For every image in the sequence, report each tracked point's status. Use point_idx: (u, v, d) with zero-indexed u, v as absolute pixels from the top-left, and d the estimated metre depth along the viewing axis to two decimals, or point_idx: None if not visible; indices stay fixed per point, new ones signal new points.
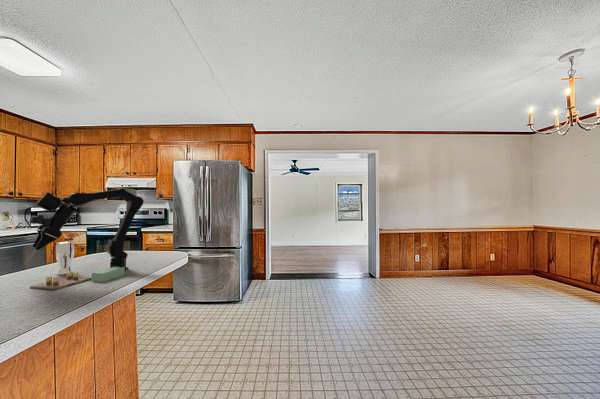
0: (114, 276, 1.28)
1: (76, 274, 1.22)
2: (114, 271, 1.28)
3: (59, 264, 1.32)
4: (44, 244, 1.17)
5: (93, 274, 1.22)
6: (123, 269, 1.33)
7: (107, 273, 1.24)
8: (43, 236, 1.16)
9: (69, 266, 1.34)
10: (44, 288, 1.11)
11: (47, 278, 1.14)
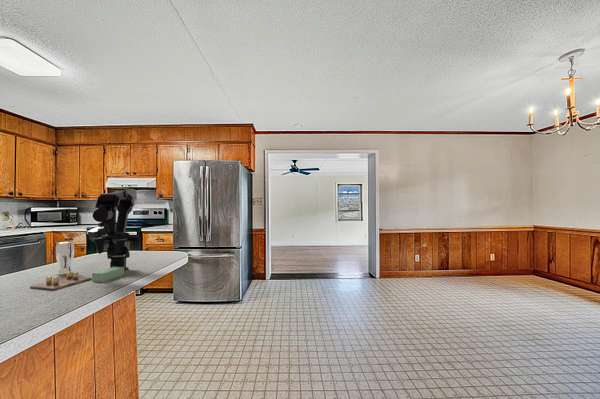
0: (114, 276, 1.28)
1: (76, 274, 1.22)
2: (114, 271, 1.28)
3: (59, 264, 1.32)
4: (120, 247, 1.27)
5: (94, 274, 1.22)
6: (123, 269, 1.33)
7: (108, 273, 1.24)
8: (117, 242, 1.25)
9: (69, 266, 1.34)
10: (44, 288, 1.11)
11: (47, 278, 1.14)
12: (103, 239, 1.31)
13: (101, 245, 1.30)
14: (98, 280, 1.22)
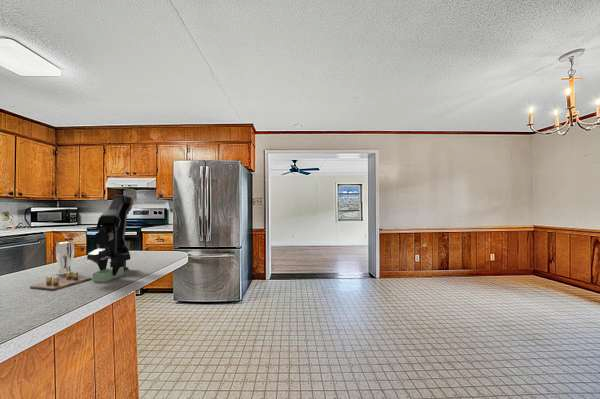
0: (115, 276, 1.28)
1: (76, 274, 1.22)
2: None
3: (59, 264, 1.32)
4: (118, 268, 1.28)
5: (95, 274, 1.22)
6: (122, 269, 1.33)
7: (109, 273, 1.25)
8: (115, 264, 1.26)
9: (69, 266, 1.34)
10: (44, 288, 1.11)
11: (47, 278, 1.14)
12: (106, 260, 1.31)
13: (104, 266, 1.29)
14: (99, 280, 1.22)
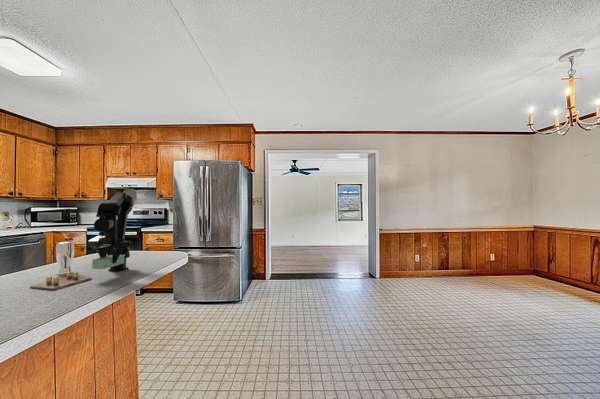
0: (114, 263, 1.28)
1: (76, 274, 1.22)
2: None
3: (59, 264, 1.32)
4: (117, 256, 1.28)
5: (94, 261, 1.22)
6: (123, 257, 1.33)
7: (108, 260, 1.24)
8: (115, 251, 1.25)
9: (69, 266, 1.34)
10: (44, 288, 1.11)
11: (47, 278, 1.14)
12: (106, 248, 1.31)
13: (104, 254, 1.29)
14: (98, 267, 1.22)
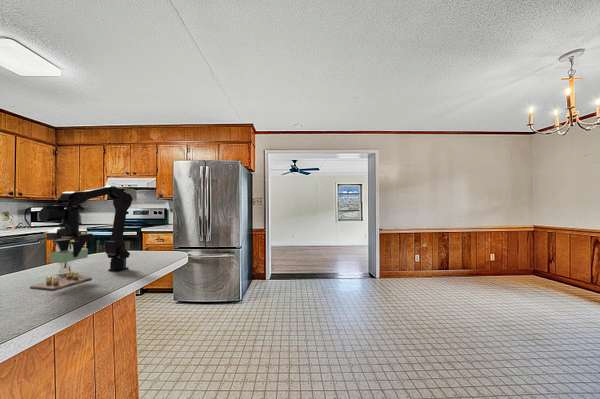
0: (76, 257, 1.20)
1: (76, 274, 1.22)
2: None
3: (59, 264, 1.32)
4: (79, 249, 1.20)
5: (52, 254, 1.14)
6: (86, 250, 1.25)
7: (68, 253, 1.16)
8: (76, 244, 1.17)
9: (69, 266, 1.34)
10: (44, 288, 1.11)
11: (47, 278, 1.14)
12: (68, 241, 1.22)
13: (65, 248, 1.21)
14: (57, 260, 1.14)
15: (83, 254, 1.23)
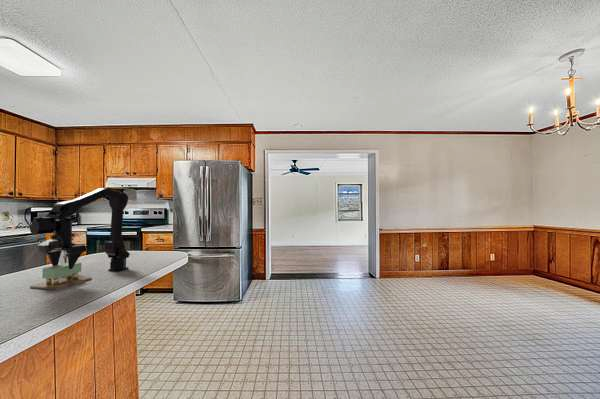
0: (69, 272, 1.19)
1: (76, 274, 1.22)
2: None
3: (59, 264, 1.32)
4: (74, 261, 1.18)
5: (44, 270, 1.13)
6: (80, 264, 1.24)
7: (60, 269, 1.15)
8: (71, 256, 1.16)
9: None
10: (44, 288, 1.11)
11: None
12: (59, 252, 1.22)
13: (57, 259, 1.20)
14: (49, 276, 1.13)
15: (76, 268, 1.22)
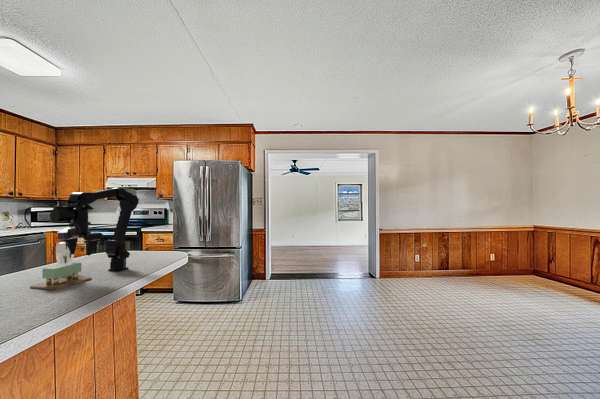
0: (69, 272, 1.19)
1: (76, 274, 1.22)
2: (69, 266, 1.19)
3: (59, 264, 1.32)
4: (92, 248, 1.24)
5: (44, 270, 1.13)
6: (80, 264, 1.24)
7: (60, 269, 1.15)
8: (89, 243, 1.22)
9: None
10: (44, 288, 1.11)
11: None
12: (76, 239, 1.27)
13: (74, 246, 1.26)
14: (49, 276, 1.13)
15: (76, 268, 1.22)
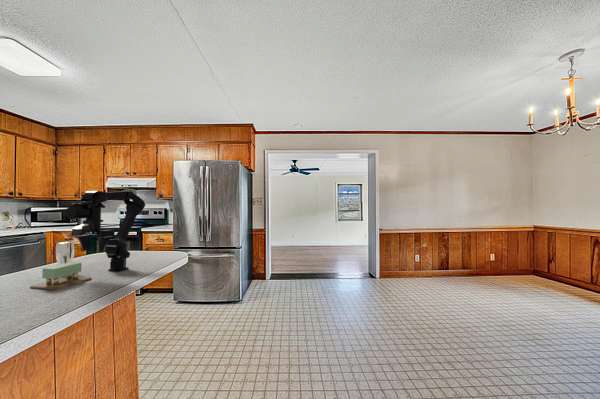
0: (69, 272, 1.19)
1: (76, 274, 1.22)
2: (69, 266, 1.19)
3: (59, 264, 1.32)
4: (104, 245, 1.28)
5: (44, 270, 1.13)
6: (80, 264, 1.24)
7: (60, 269, 1.15)
8: (101, 240, 1.26)
9: None
10: (44, 288, 1.11)
11: None
12: (88, 236, 1.32)
13: (86, 243, 1.31)
14: (49, 276, 1.13)
15: (76, 268, 1.22)
